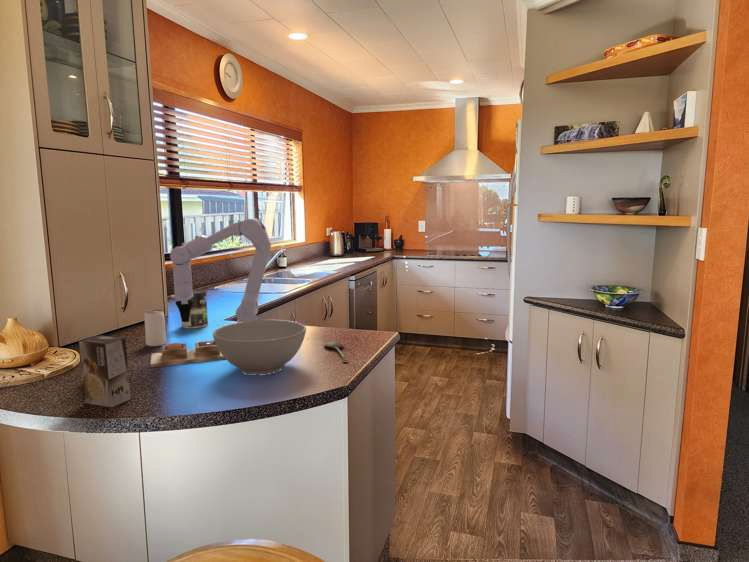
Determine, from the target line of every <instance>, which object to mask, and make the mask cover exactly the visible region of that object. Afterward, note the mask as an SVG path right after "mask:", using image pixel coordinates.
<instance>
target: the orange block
mask: <svg viewBox="0 0 749 562" xmlns="http://www.w3.org/2000/svg"><path fill="white" fill-rule="evenodd" d="M166 345H167V350H170V349H180V348H182V343H180V342H172V343H168V344H166Z"/></svg>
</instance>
